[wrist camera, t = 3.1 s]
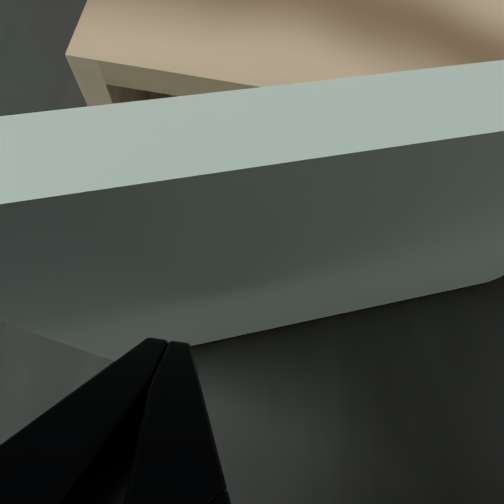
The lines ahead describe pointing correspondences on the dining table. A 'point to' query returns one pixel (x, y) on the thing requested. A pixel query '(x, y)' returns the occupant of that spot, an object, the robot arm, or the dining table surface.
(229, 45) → the crate
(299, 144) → the flap
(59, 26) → the dining table surface
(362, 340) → the dining table surface
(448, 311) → the dining table surface
